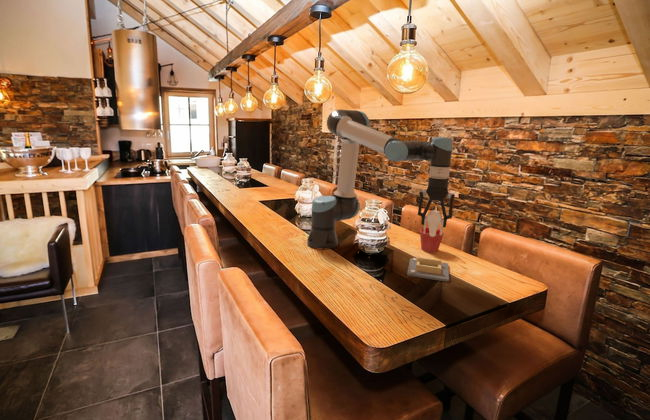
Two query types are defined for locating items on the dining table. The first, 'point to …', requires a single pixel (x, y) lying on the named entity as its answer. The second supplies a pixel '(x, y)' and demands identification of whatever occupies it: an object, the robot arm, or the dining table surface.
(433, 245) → the flower pot
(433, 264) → the board
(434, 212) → the lightbulb
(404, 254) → the dining table surface
